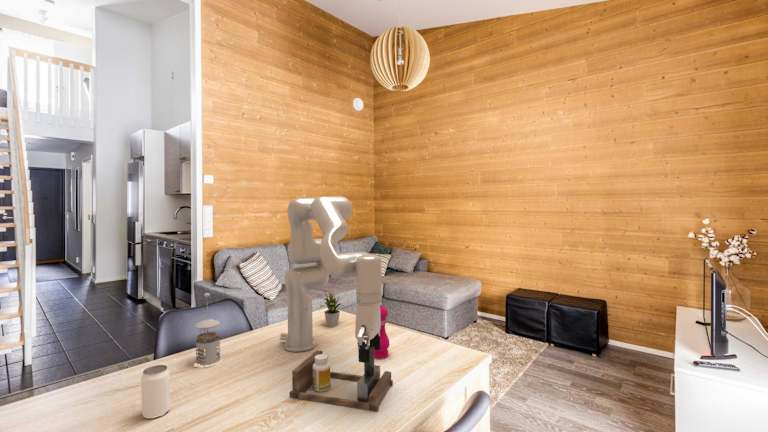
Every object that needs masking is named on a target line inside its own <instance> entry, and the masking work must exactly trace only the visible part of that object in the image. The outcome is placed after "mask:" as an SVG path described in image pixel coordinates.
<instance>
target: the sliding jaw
mask: <svg viewBox="0 0 768 432" xmlns="http://www.w3.org/2000/svg"><path fill="white" fill-rule="evenodd" d="M368 348H370V362H369V363H363V368H364V371H363V374H362V375H361V376H362V377H361V378H360V380H359V381H356V382H357V383H356V385H357V387H356V388H357V399H356V401H360V402H367V403H369V395H370V393H371V392H372V390H373V389H374V387H375V386H376V384H377V383H378V381H379V380H380V378H381V365H375V358H374V346H372V345H370V344H369V347H368Z"/></svg>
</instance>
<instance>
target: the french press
mask: <svg viewBox="0 0 768 432" xmlns="http://www.w3.org/2000/svg"><path fill="white" fill-rule="evenodd" d="M203 296H204V297H205V298H209V297H210V296H211V293H209V292H205V293H204V294H203ZM208 306H209V305H208V302H206V319H204V320H201V321H198V322H197V323H196V324H195V325H194V327H195V328H196V329H198V330H199V332H201V330H203V331H204V332H203V333H199V334H197V336H196V341H195V362H196V363H197V364H200V365H203V366H205V365H211V364H214V363H217V362H219V361H220V360H221V358H222V356H221V340H220V339H221V338H220V336H219V333H218V332H217V331H209V330H210V329H214V328H216V327H219V325H220V324H221V322H220V321H219V320H216V319H211V318H210V319H209V313H208V312H209V311H208V310H209V309H208V308H209V307H208ZM206 330H207V331H206ZM214 340H215V341H214ZM204 342H205V343H204Z"/></svg>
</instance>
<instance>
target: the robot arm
mask: <svg viewBox="0 0 768 432" xmlns="http://www.w3.org/2000/svg"><path fill="white" fill-rule="evenodd" d="M352 206H353V205H352V203H351V201H350V199H348V198H347V197H346V196H340V195H338V196H337V195H336V196H334V195H333V196H330V195H329V196H328V195H327V196H324V195H323V196H318V197H298V198H293V199H292V200H291V201H289V203H288V205H287V210H286V211H287V219H288V222H289V228H290V234H289V235H290V236H289V237H290V238H289V259H290V261H291V262H292V263H293V264H296V265H301V266H293V267H291V268H289V269H288V270H286V271H285V274H284V284H285V285H284V286H285V291H286V300H287V301H286V302H287V333H284V332H281V333H280V337H279V339H280V340H281V341H285V342H284V344H283V349H285V350H286V351H288V352H294V353H297V352H298V353H299V352H306V351H309V350H312V349H314V348H316V347H317V345H318V343H317V340H316V339H314V338H313V337H314V335H313V301H312V298H311V296H310V295H309V294H308V293H307V291H309V290H315V289H320V288H325V286H326V285H327V284H328V282H329V279H330V277H332V278H333V279H335V280H341V279H347V278H355V301H356V302H355V304H356V311H355V312H356V313H355V330H354V331H355V332H354V333H355V336H354V337H355V339H356V340H357V349H358V355H357V356H358V363H363V364H364V363H369V362H370V348H368V347H369V345H372V346H374V350H380V328H381V314H380V304H381V303H382V302H383V300H382V299H383V291H382V290H383V289H382V284H383V283H382V281H383V280H382V276H383V275H382V258H381V257H380V256H379V255H376V254H371V253H368V252H366V251H354V252H351V251H350V252H342V253H341V252H340V253H337V252H336V250H335V249H334V247H333V245H335V244H336V243H338V242H339V241H341V240H343V239H344V237H345V236H347V234H348V232H349V225H348V223H347V222H346V220H348V219H349V218H350V217H351V216H352V213H353V207H352ZM310 221H316V224H317V225H318V227H319V230H320V232H321V233H322V235H323V237H321V238H319V237H317V238H313V237H314V236H313V235H314V227H313V226H312V224H311V222H310ZM313 263H314V264H313ZM305 264H311V265H305ZM382 304H383V303H382Z"/></svg>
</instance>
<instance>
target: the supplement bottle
mask: <svg viewBox="0 0 768 432" xmlns="http://www.w3.org/2000/svg"><path fill="white" fill-rule="evenodd" d="M330 372H331V363H330V362H329V356H328V354H325V353H324V354H323V353H322V354H319V355H316V356H315V363H314V364H313V385H312V389H313V390H314V391H315V392H321V393H323V392H326V391H328V390H329V389H330V388H331V378H330Z"/></svg>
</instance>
